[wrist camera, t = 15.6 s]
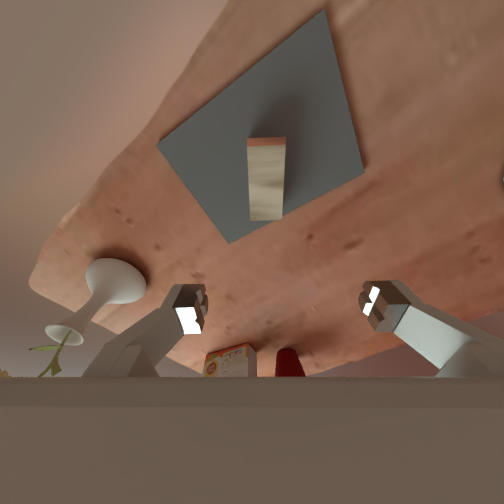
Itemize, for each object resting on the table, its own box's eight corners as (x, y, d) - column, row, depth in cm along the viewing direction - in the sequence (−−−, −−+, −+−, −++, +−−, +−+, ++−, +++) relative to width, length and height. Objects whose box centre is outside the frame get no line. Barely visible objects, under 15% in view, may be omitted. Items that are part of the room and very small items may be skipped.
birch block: (250, 210, 30) (247, 138, 25) (278, 209, 30) (281, 137, 25) (250, 220, 26) (246, 138, 21) (281, 219, 26) (286, 136, 21)
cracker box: (216, 363, 56) (198, 467, 38) (205, 353, 53) (181, 460, 36) (257, 352, 53) (259, 460, 35) (248, 341, 50) (245, 452, 32)
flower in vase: (97, 243, 35) (-159, 410, 13) (156, 269, 37) (26, 438, 16) (89, 287, 40) (-96, 452, 19) (141, 306, 43) (31, 467, 22)
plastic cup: (312, 356, 54) (325, 407, 43) (280, 367, 57) (285, 416, 47) (295, 338, 49) (306, 390, 39) (261, 350, 52) (263, 401, 42)
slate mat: (321, 13, 19) (324, 8, 19) (361, 171, 27) (364, 172, 27) (158, 144, 26) (155, 145, 25) (229, 241, 34) (228, 243, 33)
